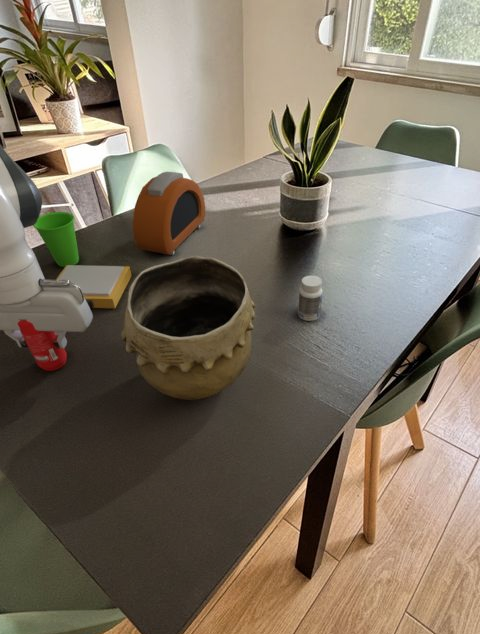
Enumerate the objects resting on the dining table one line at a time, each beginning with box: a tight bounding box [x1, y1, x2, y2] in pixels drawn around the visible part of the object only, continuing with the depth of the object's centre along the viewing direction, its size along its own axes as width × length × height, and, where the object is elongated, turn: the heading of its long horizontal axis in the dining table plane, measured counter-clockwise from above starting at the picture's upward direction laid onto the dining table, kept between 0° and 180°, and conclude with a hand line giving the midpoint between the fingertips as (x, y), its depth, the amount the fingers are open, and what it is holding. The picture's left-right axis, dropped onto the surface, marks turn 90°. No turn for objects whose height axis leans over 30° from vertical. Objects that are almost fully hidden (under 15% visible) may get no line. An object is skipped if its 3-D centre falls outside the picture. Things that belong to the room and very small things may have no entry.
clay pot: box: [120, 255, 256, 401], centre depth 69 cm, size 21×21×20 cm
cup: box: [32, 211, 80, 268], centre depth 102 cm, size 9×9×11 cm
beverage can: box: [17, 319, 68, 372], centre depth 75 cm, size 5×5×12 cm
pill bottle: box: [297, 275, 324, 322], centre depth 87 cm, size 5×5×8 cm
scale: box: [55, 264, 133, 309], centre depth 95 cm, size 15×14×3 cm
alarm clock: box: [132, 171, 206, 256], centre depth 109 cm, size 23×9×17 cm, turn 161°
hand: (43, 345), depth 76 cm, fingers closed on beverage can, 5 cm apart
